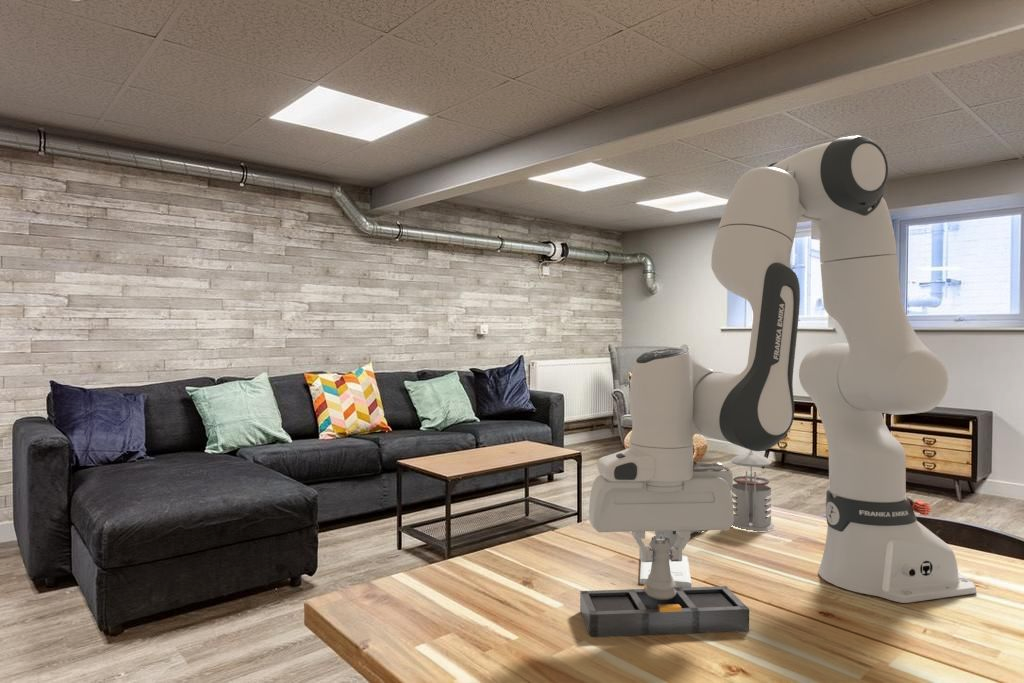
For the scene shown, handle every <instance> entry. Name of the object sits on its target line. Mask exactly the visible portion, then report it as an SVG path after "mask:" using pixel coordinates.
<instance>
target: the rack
mask: <svg viewBox="0 0 1024 683" xmlns="http://www.w3.org/2000/svg"><path fill="white" fill-rule="evenodd" d="M646 587H647V586H646V585H645V584H643V588H636V589H634V588H633V589H632V588H631V589H630V588H629V589H603V590H600V589H599V590H580V593H579V594H580V600H579V601H580V606H579V607H580V614H581V616H582V619H583V621H584V624H585V626H586V629H587V631H588V633H589V636H590V637H591V638H594V637H595V638H597V637H599V638H600V637H617V636H618V637H622V636H647V635H651V636H652V635H675V634H676V635H677V634H700V633H701V634H702V633H729V632H731V633H732V632H750V608H749V607H748V606H747V605H746V604H745V603H744V602H743V601H742V600H741V599H739V597H738V596H737V595H735V593H734V592H732V591H731V589H730V588H728V587H727V586H726V585H725V586H723V585H722V586H721V585H719V586H697V587H696V586H694V587H693V586H691V587H688V588H684V587H676V588H675V590H676V591H677V592H676V595H675V596H674V597H673V598H672V599H668V600H659V599H654V598H651V597H650V596H648V595H647V593H646V592H645V588H646Z"/></svg>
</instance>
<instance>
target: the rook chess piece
mask: <svg viewBox="0 0 1024 683" xmlns="http://www.w3.org/2000/svg"><path fill="white" fill-rule="evenodd" d="M648 546H649V547H650V548H651V549H652V550H653V556H652V558H653V562H652V566H651V572H650V574H649V575H648V578H647V579H646V582H645V584H644V585H646V586H647V587H646V588H645V592H646V593H647V595H648V596H650V597H651V598H654V599H659V600H668V599H672V598H673V597H674V596H675V595H676V592H677V591H676V590H675V588H677V587H676V583H675V582H674V581H673V577H672V576H671V572H670V565H669V559H670V557H671V556H670V554H669V550H670V549H671V548H672V544H671V543H670V539H669V537H665V539H663V536H660V535H659V539H657V536H656V535H653V536H651V541H650V542H649V544H648Z"/></svg>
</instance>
